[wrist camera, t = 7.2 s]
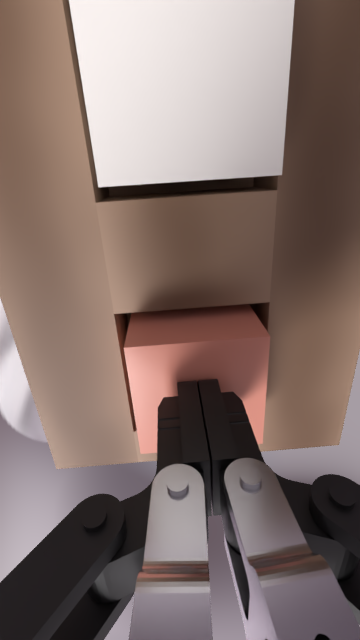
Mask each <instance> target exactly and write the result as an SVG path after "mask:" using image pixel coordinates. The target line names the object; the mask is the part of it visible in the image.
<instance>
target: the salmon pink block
mask: <svg viewBox="0 0 360 640" xmlns="http://www.w3.org/2000/svg"><path fill="white" fill-rule="evenodd" d="M269 349H270V335H269V333H268V332H267V330H266V329H265V327H264V326H263V324H262V323H261V321H260V320H259V318H258V317H257V315H256V314H255V312H254V311H253V309H252V308H251V306H250V305H249V304H240V305H226V306H213V307H200V308H187V309H173V310H160V311H147V312H134V313H131V317H130V322H129V326H128V331H127V335H126V340H125V344H124V352H125V359H126V365H127V371H128V378H129V384H130V390H131V397H132V403H133V409H134V416H135V422H136V428H137V435H138V441H139V447H140V453H141V454H148V453H157V431H158V429H157V426H158V406H159V405H160V403H161V401H162V399H163V398H164V397H173V396H178V389H177V382H184V381H197V387H198V380H207V379H218V382H219V386H220V390H221V392H232V391H233V392H234V393H235V394H236V395H237V396H238V397H239V398H240V399H241V400H242V401H243V404H244V407H245V410H246V414H247V415H248V418H249V422H250V424H251V427H252V429H253V432H254V435H255V438H256V441H257V443H258V444H263V431H264V417H265V404H266V390H267V376H268V363H269Z"/></svg>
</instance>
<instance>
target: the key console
mask: <svg viewBox="0 0 360 640" xmlns="http://www.w3.org/2000/svg"><path fill="white" fill-rule="evenodd" d="M0 298H1V301H2V304H3V307H4V310H5V313H6V316H7V319H8V322H9V325H10V328H11V331H12V334H13V337H14V341H15V344H16V347H17V350H18V353H19V356H20V359H21V362H22V365H23V368H24V371H25V374H26V377H27V380H28V383H29V386H30V389H31V392H32V395H33V398H34V401H35V405H36V408H37V411H38V414H39V417H40V420H41V423H42V426H43V429H44V432H45V435H46V438H47V441H48V444H49V447H50V450H51V453H52V456H53V459H54V462H55V466H56V469H63V468H75V467H86V466H97V465H98V466H99V465H110V464H122V463H134V462H145V461H157V453H148V454H141V453H140V447H139V441H138V435H137V428H136V422H135V416H134V409H133V403H132V397H131V390H130V384H129V378H128V371H127V365H126V359H125V352H124V344H125V340H126V335H127V331H128V326H129V322H130V317H131V313H134V312H147V311H160V310H173V309H187V308H200V307H213V306H226V305H240V304H249V305H250V306H251V308H252V309H253V311H254V312H255V314H256V315H257V317H258V318H259V320H260V321H261V323H262V324H263V326H264V327H265V329H266V330H267V332H268V333H269V335H270V349H269V363H268V376H267V390H266V404H265V417H264V431H263V444H258V446H259V449H260V452H262V451H273V450H284V449H297V448H308V447H320V446H332V445H339V443H340V438H341V433H342V429H343V424H344V419H345V415H346V410H347V405H348V401H349V396H350V391H351V387H352V382H353V378H354V373H355V369H356V364H357V359H358V355H359V349H360V0H295V3H294V17H293V31H292V45H291V58H290V72H289V86H288V100H287V113H286V127H285V141H284V155H283V168H282V175H275V176H260V177H245V178H230V179H215V180H200V181H185V182H170V183H155V184H141V185H126V186H111V187H98V181H97V175H96V169H95V162H94V156H93V150H92V143H91V137H90V131H89V124H88V118H87V112H86V105H85V99H84V93H83V86H82V80H81V74H80V67H79V61H78V55H77V49H76V42H75V36H74V30H73V23H72V17H71V11H70V4H69V0H0Z"/></svg>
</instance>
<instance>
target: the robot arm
mask: <svg viewBox="0 0 360 640" xmlns="http://www.w3.org/2000/svg"><path fill="white" fill-rule="evenodd" d="M177 389H178V396H173V397H164V398H163V399H162V401H161V403H160V405H159V406H158V426H157V429H158V431H157V471H156V475H155V477H154V479H153V481H152V482H151V484H150V485H149V486H148V487H147V488H146V489H145V490H143V491H142V492H140V493H139V494H137V495H135V496H133V497H130V498H127V499H125V500H123V501H119V500H118V499H117V498H115V497H114V496H112V495H109V494H97V495H93V496H90V497H88V498H87V499H85V500H83V501H82V502H81V503H79V504H78V505H77V506H76V507H75V508H74V509H73V510H72V511H71V512H70V513H69V514H68V515H67V516H66V517H65V518H64V519H63V520H62V521H61V522H60V523H59V524H58V525H57V526H56V527H55V528H54V529H53V530H52V531H51V532H50V533H49V534H48V535H47V536H46V537H45V538H44V539H43V540H42V541H41V542H40V543H39V544H38V545H37V546H36V547H35V548H34V549H33V550H32V551H31V552H30V553H29V554H28V555H27V556H26V557H25V558H24V559H23V560H22V561H21V562H20V563H19V564H18V565H17V566H16V568H14V569H13V570H12V571H11V572H10V573H9V575H7V576H6V577H5V578H4V579H3V580H2V581H1V583H0V640H104V639H105V637H106V636H107V634H108V633H109V631H110V630H111V628H112V627H113V625H114V624H115V622H116V621H117V619H118V618H119V616H120V615H121V613H122V612H123V610H124V609H125V607H126V606H127V604H128V603H129V601H130V600H131V598H132V596H133V594H134V592H135V594H134V602H133V610H132V618H131V626H130V634H129V640H213V636H212V618H211V601H210V600H211V599H210V581H209V569H208V550H207V544H208V516H211V502H212V508H213V515H222V520H223V526H224V543H225V548H226V552H227V556H228V560H229V565H230V568H231V573H232V577H233V581H234V585H235V589H236V593H237V598H238V602H239V606H240V610H241V614H242V618H243V622H244V628H245V633H246V640H360V626H359V625H360V485H358V484H356V483H355V482H353V481H352V480H350V479H348V478H345V477H343V476H339V475H333V474H332V475H331V474H328V475H323V476H320V477H318V478H317V479H316V480H315V481H314V482H313V484H312V485H310V484H304V483H299V482H295V481H291V480H287V479H285V478H282V477H281V476H279V475H277V474H276V473H274V472H273V471H272V469H271V468H270V467H269V466H268V465H266V463H265V462H264V460H263V457H262V455H261V452H260V449H259V446H258V443H257V441H256V438H255V435H254V432H253V429H252V427H251V424H250V422H249V418H248V415H247V414H246V410H245V407H244V404H243V401H242V400H241V399H240V398H239V397H238V396H237V395H236V394H235V393H234V392H233V391H232V392H221V390H220V386H219V382H218V379H207V380H198V387H197V381H184V382H177Z"/></svg>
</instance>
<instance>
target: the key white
mask: <svg viewBox="0 0 360 640" xmlns="http://www.w3.org/2000/svg"><path fill="white" fill-rule="evenodd" d="M294 3H295V0H69V4H70V11H71V17H72V23H73V30H74V36H75V42H76V49H77V55H78V61H79V67H80V74H81V80H82V86H83V93H84V99H85V105H86V112H87V118H88V124H89V131H90V137H91V143H92V150H93V156H94V162H95V169H96V175H97V181H98V187H111V186H126V185H141V184H155V183H170V182H185V181H200V180H215V179H230V178H245V177H260V176H275V175H282V168H283V155H284V141H285V127H286V113H287V100H288V86H289V72H290V58H291V45H292V31H293V17H294Z"/></svg>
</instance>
